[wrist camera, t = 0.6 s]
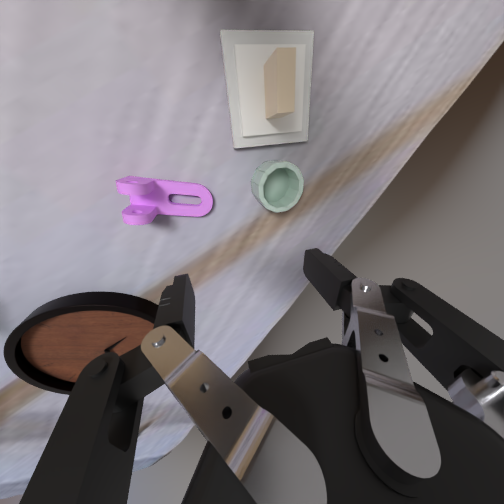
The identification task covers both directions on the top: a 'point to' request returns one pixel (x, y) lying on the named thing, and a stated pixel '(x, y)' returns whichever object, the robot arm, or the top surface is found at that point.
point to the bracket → (160, 199)
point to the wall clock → (76, 336)
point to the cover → (270, 87)
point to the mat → (227, 45)
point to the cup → (277, 185)
